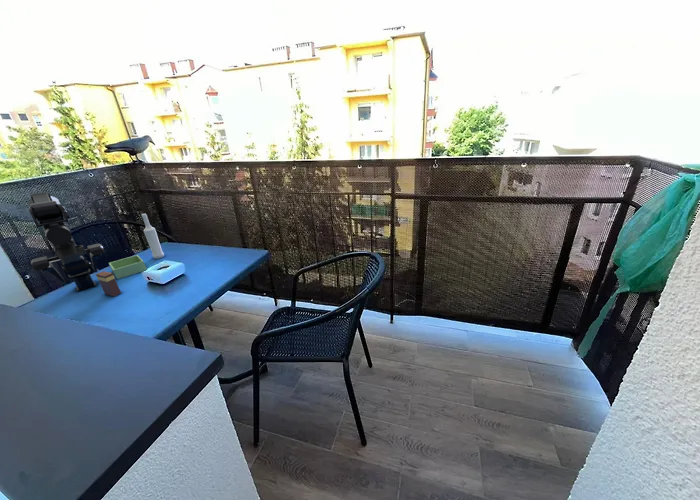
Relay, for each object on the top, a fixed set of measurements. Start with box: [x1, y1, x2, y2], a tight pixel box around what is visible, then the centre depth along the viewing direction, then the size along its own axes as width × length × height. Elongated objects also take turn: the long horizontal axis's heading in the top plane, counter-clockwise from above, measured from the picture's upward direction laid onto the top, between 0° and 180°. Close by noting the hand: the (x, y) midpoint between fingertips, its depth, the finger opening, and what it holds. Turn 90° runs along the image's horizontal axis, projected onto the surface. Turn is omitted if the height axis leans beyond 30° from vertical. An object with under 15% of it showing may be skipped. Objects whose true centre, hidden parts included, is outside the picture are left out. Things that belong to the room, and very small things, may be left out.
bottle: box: [141, 213, 165, 260], centre depth 147 cm, size 5×5×25 cm
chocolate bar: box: [95, 270, 122, 297], centre depth 116 cm, size 6×3×10 cm, turn 69°
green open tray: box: [108, 254, 147, 280], centre depth 137 cm, size 12×12×5 cm
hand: (80, 276), depth 102 cm, fingers open, 9 cm apart
